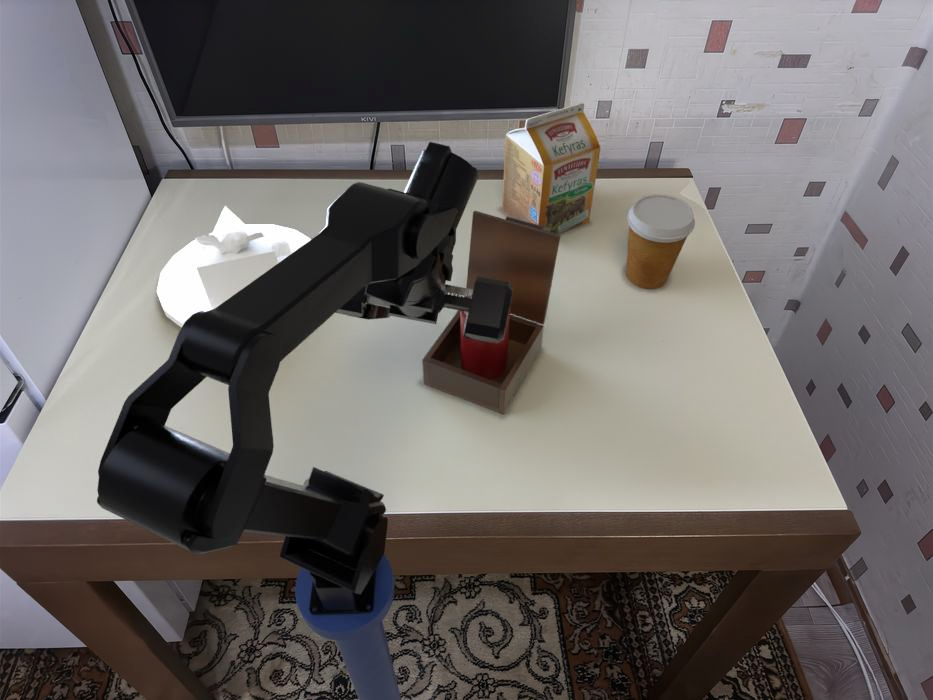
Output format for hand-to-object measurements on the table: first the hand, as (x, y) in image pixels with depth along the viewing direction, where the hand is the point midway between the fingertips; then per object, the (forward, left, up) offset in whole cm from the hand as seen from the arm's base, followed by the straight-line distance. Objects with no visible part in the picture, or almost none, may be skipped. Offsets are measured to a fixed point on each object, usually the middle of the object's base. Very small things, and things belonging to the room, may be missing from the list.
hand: (428, 320), depth 78 cm
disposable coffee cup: (+23, -33, -14) cm, 42 cm away
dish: (+24, +29, -14) cm, 40 cm away
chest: (+5, -7, -14) cm, 16 cm away
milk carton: (+39, -19, -14) cm, 45 cm away
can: (+5, -7, -13) cm, 15 cm away
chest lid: (+11, -10, -2) cm, 15 cm away
